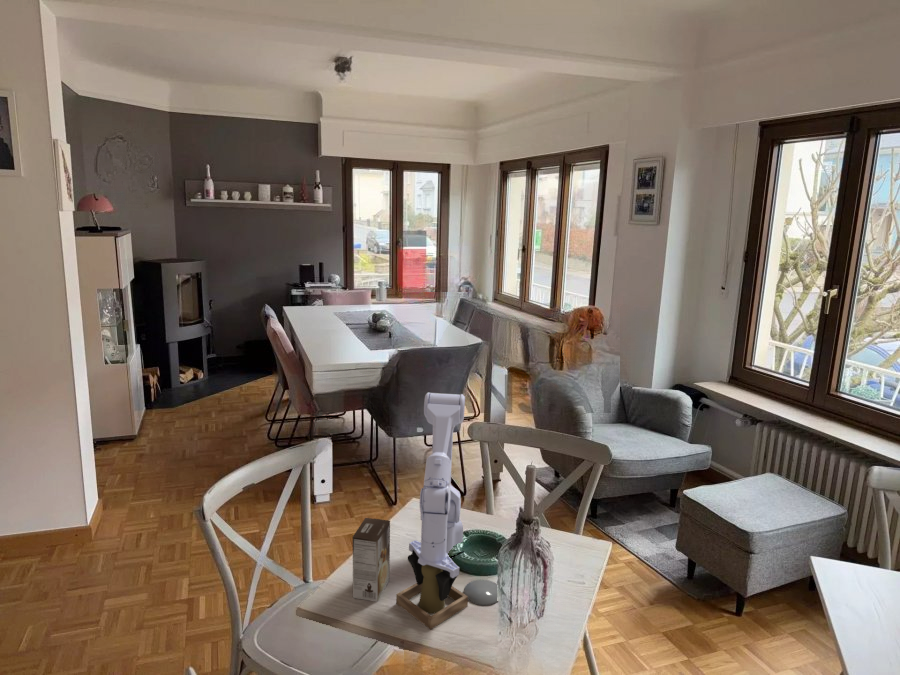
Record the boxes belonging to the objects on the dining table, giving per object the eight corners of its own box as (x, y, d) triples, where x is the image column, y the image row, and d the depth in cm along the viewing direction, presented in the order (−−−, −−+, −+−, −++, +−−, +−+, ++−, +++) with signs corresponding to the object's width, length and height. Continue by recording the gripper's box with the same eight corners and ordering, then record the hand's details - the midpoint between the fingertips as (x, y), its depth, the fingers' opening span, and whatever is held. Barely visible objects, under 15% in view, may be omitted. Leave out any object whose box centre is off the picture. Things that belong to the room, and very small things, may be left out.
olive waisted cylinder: (415, 599, 143) (415, 557, 141) (439, 594, 146) (440, 552, 143) (424, 616, 138) (425, 572, 135) (449, 610, 140) (450, 567, 138)
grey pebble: (481, 576, 153) (481, 574, 153) (509, 593, 147) (509, 591, 146) (456, 592, 147) (456, 590, 146) (484, 610, 140) (484, 608, 140)
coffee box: (365, 575, 152) (365, 516, 148) (390, 579, 151) (391, 519, 147) (352, 598, 143) (351, 536, 139) (378, 602, 142) (378, 540, 138)
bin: (433, 582, 150) (433, 573, 149) (467, 606, 142) (467, 596, 141) (396, 603, 142) (396, 594, 141) (430, 629, 134) (430, 619, 133)
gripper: (399, 530, 140) (398, 583, 143) (443, 557, 130) (441, 614, 133) (422, 519, 145) (420, 571, 148) (466, 545, 135) (464, 599, 138)
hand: (432, 590), depth 141 cm, fingers open, 7 cm apart
